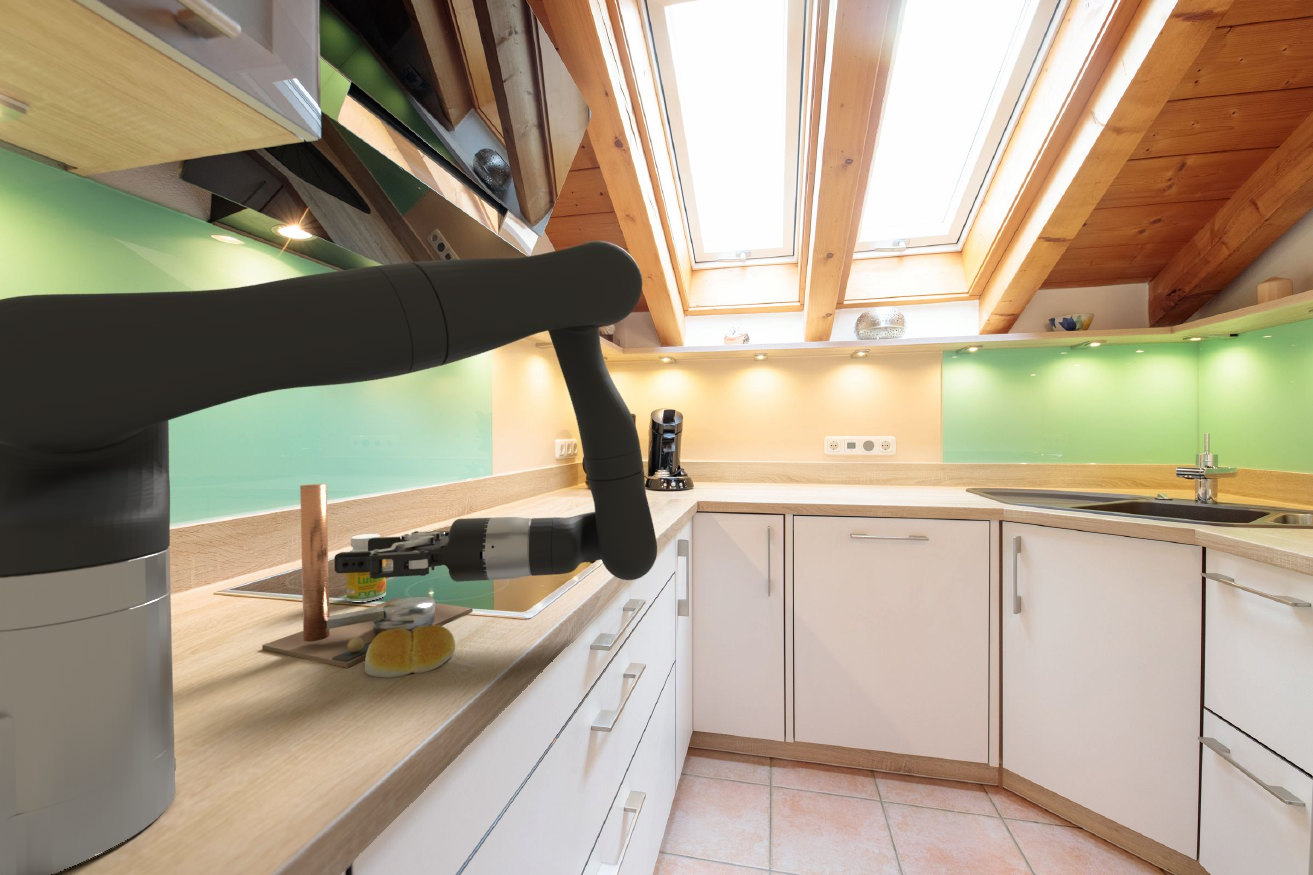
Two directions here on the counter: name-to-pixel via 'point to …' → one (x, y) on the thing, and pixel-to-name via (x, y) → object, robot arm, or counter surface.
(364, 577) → the supplement bottle
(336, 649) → the stand
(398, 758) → the counter surface
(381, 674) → the bread roll
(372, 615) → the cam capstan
